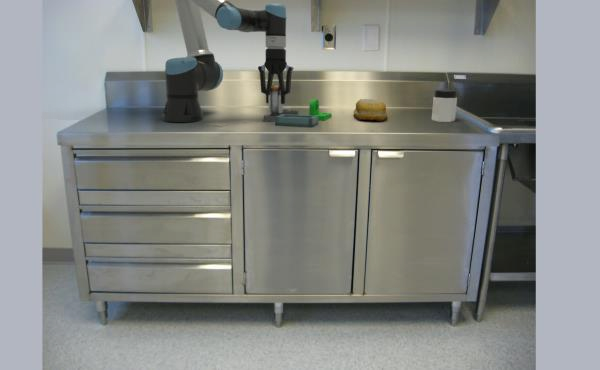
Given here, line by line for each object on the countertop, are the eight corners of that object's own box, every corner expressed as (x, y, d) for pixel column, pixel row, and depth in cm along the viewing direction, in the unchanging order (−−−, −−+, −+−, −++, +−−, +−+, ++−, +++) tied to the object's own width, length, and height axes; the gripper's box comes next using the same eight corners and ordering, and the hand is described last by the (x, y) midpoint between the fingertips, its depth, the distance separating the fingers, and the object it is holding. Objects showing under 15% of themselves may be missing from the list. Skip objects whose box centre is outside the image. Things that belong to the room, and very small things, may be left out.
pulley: (272, 117, 198) (272, 107, 197) (279, 115, 207) (279, 105, 206) (294, 118, 196) (294, 108, 195) (300, 116, 204) (300, 106, 203)
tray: (275, 125, 176) (275, 116, 176) (283, 122, 185) (283, 114, 184) (312, 127, 173) (312, 118, 172) (318, 123, 182) (318, 115, 181)
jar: (458, 122, 193) (461, 91, 190) (441, 123, 190) (444, 91, 187) (445, 119, 201) (447, 89, 198) (427, 120, 198) (430, 89, 195)
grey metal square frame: (263, 121, 188) (263, 115, 187) (269, 119, 194) (269, 113, 194) (281, 121, 186) (281, 116, 186) (286, 119, 193) (286, 114, 192)
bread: (355, 122, 189) (356, 101, 187) (351, 115, 215) (352, 96, 213) (390, 123, 189) (391, 102, 187) (382, 115, 214) (383, 96, 212)
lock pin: (268, 120, 189) (268, 85, 186) (271, 119, 193) (271, 85, 190) (279, 121, 188) (279, 86, 184) (282, 120, 192) (282, 85, 189)
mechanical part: (323, 121, 192) (324, 100, 190) (309, 120, 194) (309, 99, 192) (333, 118, 202) (334, 98, 201) (319, 117, 205) (319, 97, 203)
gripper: (251, 47, 182) (251, 112, 188) (294, 48, 178) (293, 114, 184) (258, 48, 189) (258, 110, 195) (299, 48, 185) (298, 112, 191)
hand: (275, 112), depth 190 cm, fingers closed on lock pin, 3 cm apart
